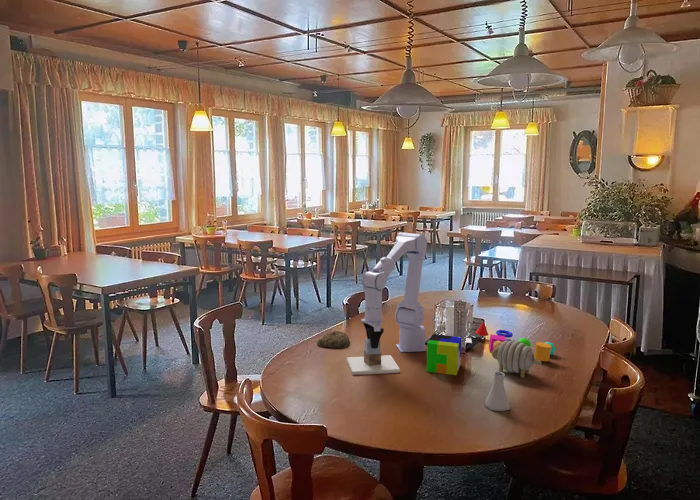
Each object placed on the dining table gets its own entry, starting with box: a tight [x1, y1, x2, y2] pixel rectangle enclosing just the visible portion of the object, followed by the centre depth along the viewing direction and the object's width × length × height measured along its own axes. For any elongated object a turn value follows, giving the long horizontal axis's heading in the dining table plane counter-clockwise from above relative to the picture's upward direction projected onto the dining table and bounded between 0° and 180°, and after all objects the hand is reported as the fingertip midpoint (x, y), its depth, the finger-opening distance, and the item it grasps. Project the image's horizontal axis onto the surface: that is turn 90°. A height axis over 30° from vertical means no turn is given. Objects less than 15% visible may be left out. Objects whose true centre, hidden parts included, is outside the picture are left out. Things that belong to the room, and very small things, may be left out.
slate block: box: [364, 338, 381, 354], centre depth 181 cm, size 4×4×4 cm
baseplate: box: [346, 354, 401, 376], centre depth 182 cm, size 16×13×1 cm
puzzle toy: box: [425, 333, 462, 376], centre depth 180 cm, size 10×10×10 cm
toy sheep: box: [491, 340, 543, 379], centre depth 176 cm, size 11×17×11 cm, turn 55°
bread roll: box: [316, 330, 351, 349], centre depth 205 cm, size 13×12×5 cm
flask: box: [484, 371, 511, 412], centre depth 152 cm, size 7×7×10 cm
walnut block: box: [363, 349, 382, 366], centre depth 182 cm, size 4×4×4 cm
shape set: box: [464, 321, 556, 362], centre depth 199 cm, size 29×35×7 cm
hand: (372, 345), depth 181 cm, fingers open, 5 cm apart
